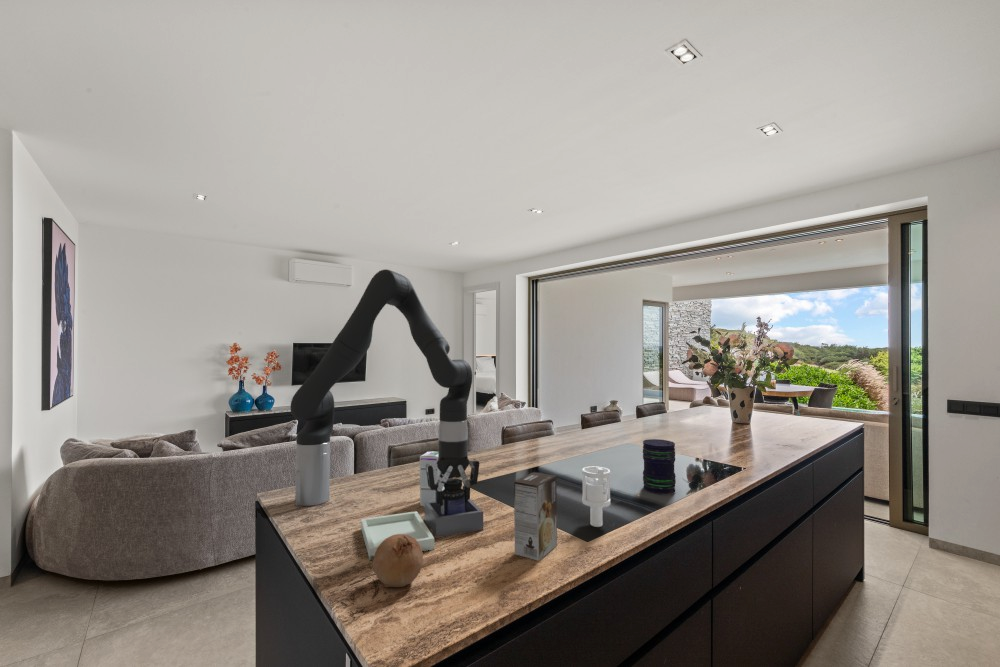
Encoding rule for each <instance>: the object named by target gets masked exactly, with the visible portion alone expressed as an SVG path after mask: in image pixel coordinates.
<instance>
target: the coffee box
mask: <svg viewBox="0 0 1000 667" xmlns="http://www.w3.org/2000/svg"><path fill="white" fill-rule="evenodd" d="M557 477H558V476H557V475H555V474H547V473H543V472H530V473H529V474H527V475H524V476H522V477H520V478H519V479H517V480H515V481H513V484H514V485H513V486H514V488H513V489H514V490H513V493H514V494H513V501H514V505H513V506H514V508H513V509H514V510H513V512H514V513H513V514H514V515H513V516H514V517H513V518H514V521H513V522H514V525H513V526H514V527H513V528H514V555H516V556H520V557H524V558H527V559H531V560H534V561H537V562H539V561H541V560H542V559H543V558H544V557H545V556H546V555H547V554H549V553H550V552H551V551H552V550H553V549H555V548H556V546H558V515H557V513H558V508H557V506H558V505H557V504H558V503H557V502H558V501H557V497H558V496H557V493H558V492H557V490H558V489H557V488H558V487H557Z"/></svg>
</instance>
